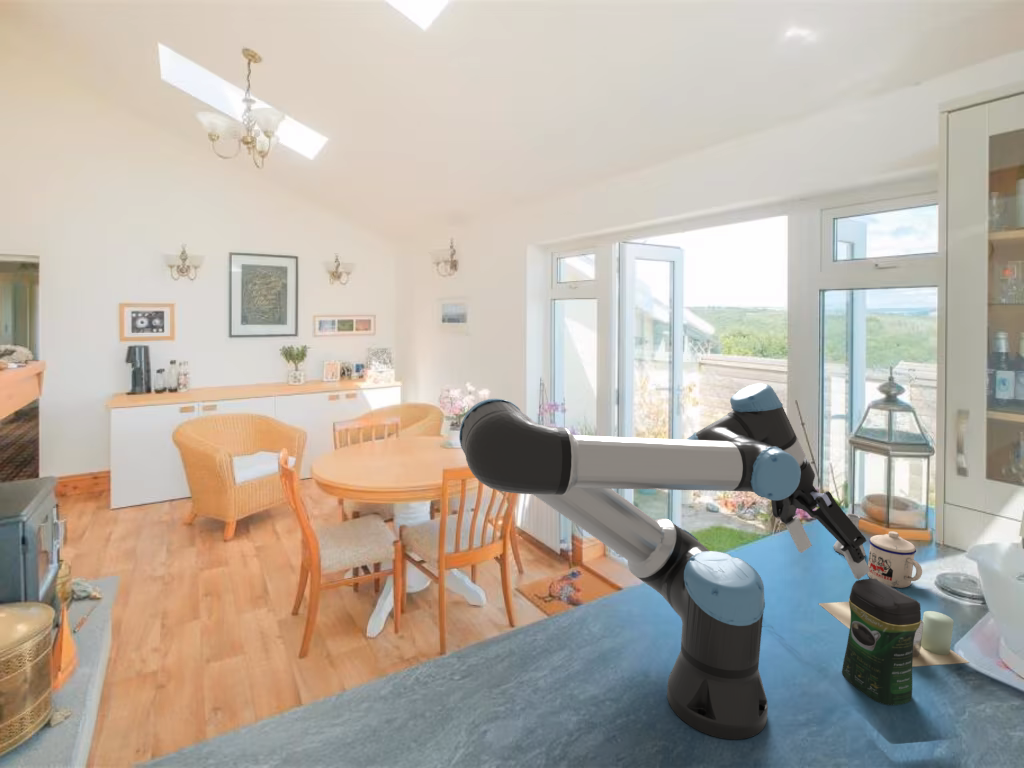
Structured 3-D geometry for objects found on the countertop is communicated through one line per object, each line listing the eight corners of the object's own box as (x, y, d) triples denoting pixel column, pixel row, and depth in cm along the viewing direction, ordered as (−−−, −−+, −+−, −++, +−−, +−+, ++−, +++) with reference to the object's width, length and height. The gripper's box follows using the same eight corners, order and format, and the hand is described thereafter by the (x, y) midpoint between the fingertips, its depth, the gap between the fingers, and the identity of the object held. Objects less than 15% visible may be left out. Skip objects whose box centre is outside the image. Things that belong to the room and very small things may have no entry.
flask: (871, 558, 142) (875, 521, 140) (843, 558, 142) (847, 521, 141) (854, 546, 149) (858, 510, 148) (827, 545, 149) (831, 510, 148)
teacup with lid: (856, 572, 134) (861, 526, 133) (887, 568, 137) (892, 523, 135) (901, 597, 123) (907, 547, 121) (934, 592, 125) (940, 544, 123)
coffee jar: (921, 708, 89) (934, 600, 86) (880, 716, 87) (893, 606, 84) (869, 670, 98) (880, 571, 95) (831, 676, 96) (842, 576, 94)
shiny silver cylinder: (903, 658, 99) (907, 627, 98) (884, 643, 103) (888, 613, 103) (926, 656, 100) (929, 625, 99) (906, 641, 104) (909, 612, 103)
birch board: (896, 675, 97) (897, 667, 97) (817, 610, 117) (818, 603, 117) (968, 670, 98) (969, 662, 98) (878, 606, 119) (878, 600, 119)
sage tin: (934, 655, 100) (938, 625, 99) (913, 641, 104) (917, 611, 103) (956, 654, 100) (960, 623, 99) (935, 639, 105) (938, 610, 104)
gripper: (857, 466, 88) (908, 574, 91) (756, 443, 113) (799, 529, 116) (821, 491, 87) (874, 600, 90) (727, 462, 111) (771, 549, 114)
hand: (832, 560), depth 103 cm, fingers open, 13 cm apart
